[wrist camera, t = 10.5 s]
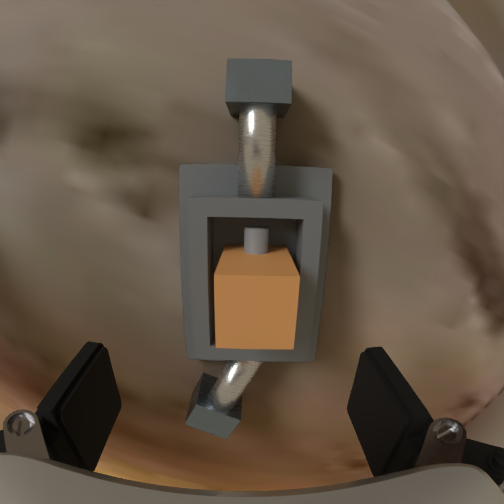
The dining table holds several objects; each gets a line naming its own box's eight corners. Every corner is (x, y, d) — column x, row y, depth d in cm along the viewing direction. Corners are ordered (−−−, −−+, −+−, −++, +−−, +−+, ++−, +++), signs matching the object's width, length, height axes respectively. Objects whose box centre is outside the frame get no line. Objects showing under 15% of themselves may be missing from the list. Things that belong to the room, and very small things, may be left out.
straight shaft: (282, 195, 23) (289, 199, 18) (228, 193, 23) (222, 198, 18) (284, 80, 20) (291, 60, 16) (232, 79, 20) (227, 58, 16)
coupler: (225, 318, 24) (216, 370, 17) (225, 222, 22) (213, 243, 15) (281, 319, 24) (290, 371, 17) (286, 223, 22) (302, 246, 15)
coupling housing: (189, 351, 26) (180, 379, 22) (183, 164, 22) (168, 162, 18) (312, 354, 26) (320, 382, 22) (328, 168, 22) (344, 167, 18)
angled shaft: (230, 323, 25) (226, 352, 21) (272, 341, 26) (275, 372, 21) (192, 392, 27) (184, 424, 23) (229, 407, 28) (226, 439, 23)
